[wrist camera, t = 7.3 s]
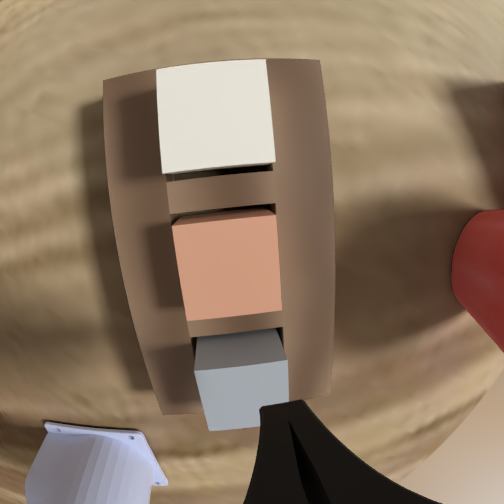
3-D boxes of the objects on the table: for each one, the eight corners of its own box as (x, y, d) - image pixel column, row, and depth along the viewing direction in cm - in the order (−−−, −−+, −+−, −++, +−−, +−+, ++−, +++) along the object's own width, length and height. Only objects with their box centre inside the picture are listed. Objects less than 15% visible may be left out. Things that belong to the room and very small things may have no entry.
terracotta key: (192, 294, 15) (187, 320, 12) (181, 216, 14) (171, 226, 11) (270, 285, 15) (282, 310, 12) (264, 207, 14) (276, 214, 11)
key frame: (167, 389, 18) (162, 414, 15) (119, 93, 13) (103, 80, 11) (318, 371, 18) (329, 394, 16) (305, 75, 14) (319, 60, 12)
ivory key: (174, 174, 13) (162, 173, 10) (168, 90, 12) (156, 69, 9) (263, 165, 13) (275, 161, 10) (255, 82, 12) (265, 59, 9)
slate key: (209, 394, 16) (209, 431, 13) (197, 336, 15) (194, 370, 12) (278, 385, 16) (289, 421, 13) (275, 327, 15) (287, 359, 12)
